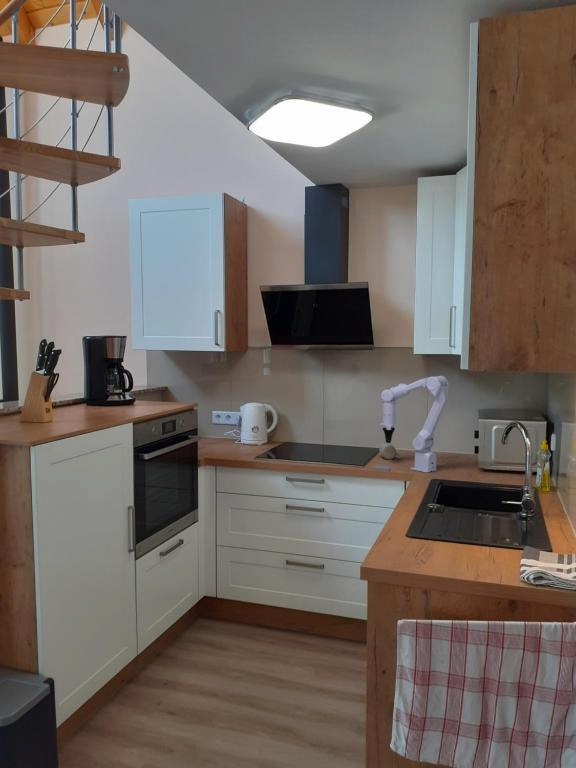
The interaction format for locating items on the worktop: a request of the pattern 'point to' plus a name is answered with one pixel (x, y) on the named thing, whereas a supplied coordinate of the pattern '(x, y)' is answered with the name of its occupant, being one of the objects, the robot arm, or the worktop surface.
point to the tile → (382, 468)
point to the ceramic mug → (388, 451)
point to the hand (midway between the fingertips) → (388, 442)
